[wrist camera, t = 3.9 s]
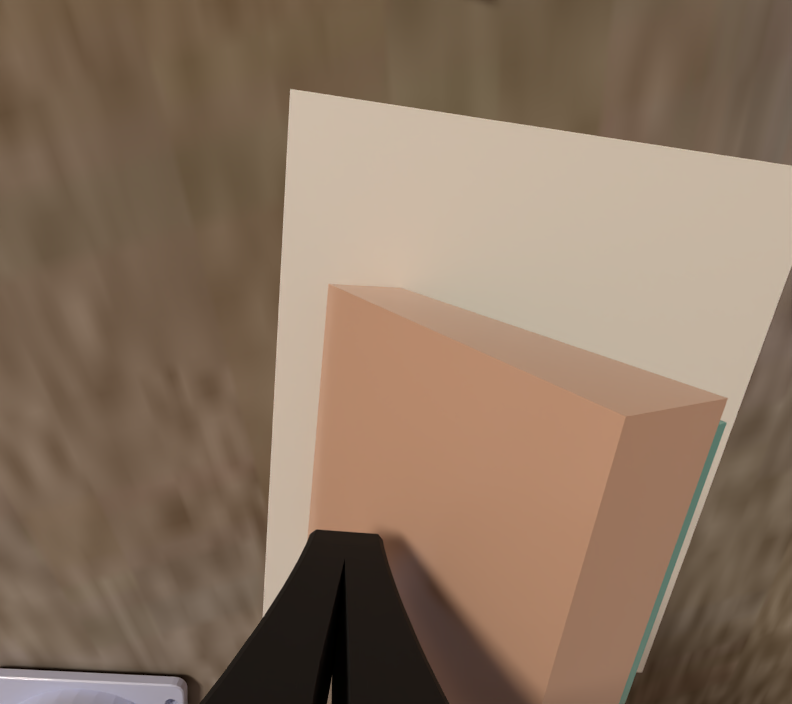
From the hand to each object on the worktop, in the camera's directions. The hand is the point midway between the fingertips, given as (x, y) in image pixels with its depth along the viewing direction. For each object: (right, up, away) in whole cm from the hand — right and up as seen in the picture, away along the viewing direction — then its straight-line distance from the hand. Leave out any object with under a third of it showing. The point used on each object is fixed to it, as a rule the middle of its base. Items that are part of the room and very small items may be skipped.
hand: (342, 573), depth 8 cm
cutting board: (+5, +1, +7) cm, 9 cm away
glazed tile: (0, +2, +6) cm, 6 cm away
